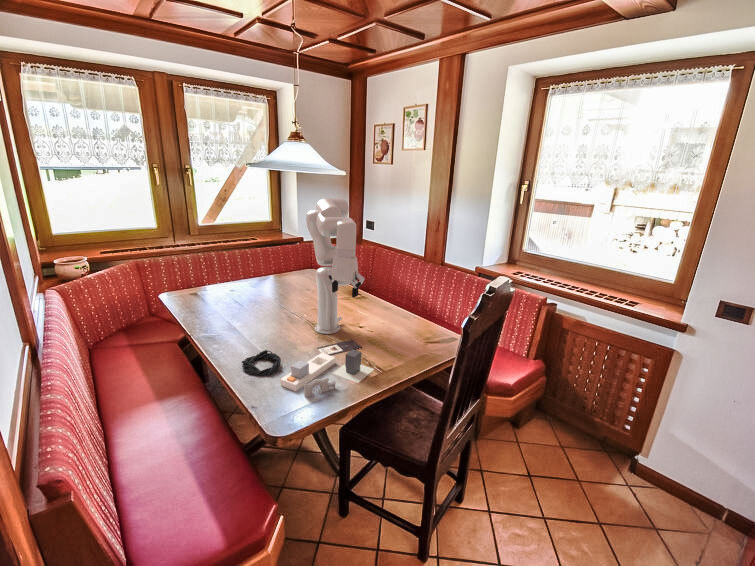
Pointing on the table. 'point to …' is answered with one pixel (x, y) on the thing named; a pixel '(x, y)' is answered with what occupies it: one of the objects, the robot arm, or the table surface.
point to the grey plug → (300, 369)
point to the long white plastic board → (315, 368)
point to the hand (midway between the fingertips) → (344, 294)
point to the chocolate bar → (339, 347)
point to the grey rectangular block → (353, 362)
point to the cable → (271, 356)
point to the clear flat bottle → (318, 383)
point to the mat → (356, 378)
